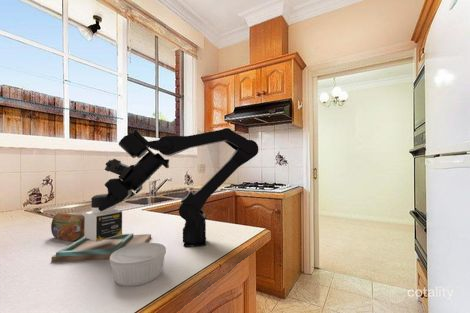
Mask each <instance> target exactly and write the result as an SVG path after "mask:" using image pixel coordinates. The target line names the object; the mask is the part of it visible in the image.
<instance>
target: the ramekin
mask: <svg viewBox="0 0 470 313" xmlns="http://www.w3.org/2000/svg"><path fill="white" fill-rule="evenodd" d="M166 253H167V247H166V246H165V245H164V244H161V243H158V242H157V243H156V242H147V243H138V244H133V245H129V246H126V247H123V248H120V249H118V250H117V251H115V252H113V253H112V254H111V256H110V259H109V264H110V265H111V271H112V275H113V276H112V277H113V279H114V282H115V283H116V284H118V285H119V286H120V285H121V286H123V287H136V286H141V285H145V284H148V283H150V282H152V281H154V280H156V278H158V277H159V276H160V275H161V273H162V271H163V269H164V262H165V256H166Z"/></svg>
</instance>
